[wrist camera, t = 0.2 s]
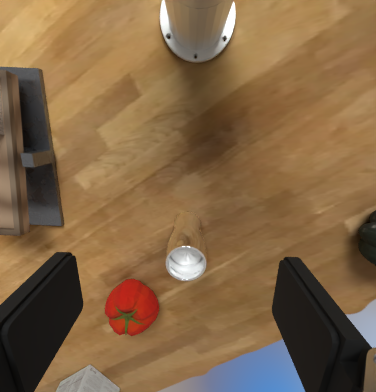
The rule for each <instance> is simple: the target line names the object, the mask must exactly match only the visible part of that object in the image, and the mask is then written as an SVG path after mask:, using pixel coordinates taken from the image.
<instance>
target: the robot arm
mask: <svg viewBox="0 0 376 392" xmlns="http://www.w3.org/2000/svg"><path fill="white" fill-rule="evenodd" d="M235 18H236V12H235V4H234V0H162V3H161V7H160V26H161V30H162V34H163V37H164V39H165V41H166V43H167V45H168V47H169V48H170V49H171V50H172V52H173V53H175V54H176V55H177V56H178V57H180V58H181V59H183V60H186V61H189V62H195V63H199V62H205V61H208V60H211V59H212V58H214V57H216V56H217V55H218V54H219V53H221V52H222V51H223V49H224V48H225V47H226V45H227V44H228V42H229V40H230V38H231V36H232V33H233V30H234V26H235ZM168 37H170V39H168ZM223 39H225V42H224V41H223ZM195 56H197V58H196V59H195V58H194V57H195ZM82 308H83V298H82V292H81V286H80V280H79V274H78V268H77V262H76V258H75V256H72V254H71V253H70V252H56V253H55V254H54V255H53V256H52V257H51V258H50V259H49V260H47V261H46V262H45V263H44V264H43V265H42V266H41V267H40V268H39V269H38V270H37V271H36V272H35V273H34V274H33V275H32V276H30V277H29V278H28V279H27V280H26V281H25V282H24V283H23V284H22V285H21V286H20V287H19V288H18V289H17V290H16V291H15V292H14V293H12V294H11V295H10V296H9V297H8V298H7V299H6V300H5V301H4V302H3V303H2V304H1V305H0V392H34V391H35V389H36V387H37V386H38V384H39V382H40V380H41V379H42V377H43V375H44V374H45V372H46V370H47V369H48V367H49V365H50V364H51V362H52V360H53V358H54V357H55V355H56V353H57V352H58V350H59V348H60V347H61V345H62V343H63V342H64V340H65V338H66V336H67V335H68V333H69V331H70V330H71V328H72V326H73V325H74V323H75V321H76V319H77V318H78V316H79V314H80V313H81V311H82ZM272 313H273V316H274V319H275V321H276V323H277V326H278V328H279V330H280V333H281V335H282V338H283V340H284V342H285V345H286V347H287V349H288V352H289V354H290V356H291V359H292V361H293V363H294V366H295V368H296V370H297V373H298V375H299V377H300V379H301V382H302V384H303V387H304V389H305V392H376V348H372V347H371V346H370V345H369V344H368V342H367V341H366V340H365V339H364V338H363V336H362V335H361V334H360V332H359V331H358V330H357V329H356V327H355V326H354V325H353V324H352V322H351V321H350V320H349V319H348V318H347V316H346V315H345V314H344V313H343V311H342V310H341V309H340V308H339V306H338V305H337V304H336V303H335V301H334V300H333V299H332V298H331V296H330V295H329V294H328V293H327V291H326V290H325V289H324V288H323V286H322V285H321V284H320V283H319V282H318V280H317V279H316V278H315V277H314V275H313V274H312V273H311V272H310V270H309V269H308V268H307V267H306V265H305V264H304V263H303V262H302V260H301V259H300V258H298V257H285V258H284V260H281V261H280V263H279V269H278V275H277V281H276V287H275V293H274V299H273V305H272Z"/></svg>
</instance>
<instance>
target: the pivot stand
mask: <svg viewBox="0 0 376 392" xmlns="http://www.w3.org/2000/svg"><path fill="white" fill-rule="evenodd" d="M0 70H7V71H9V72H11V73H13V74H15V75H17V76H18V86H19V98H20V111H21V123H22V136H23V149H24V153H20V154H21V159H22V165H23V167H25V174H26V187H27V199H28V212H29V224H31V225H52V226H62V225H63V224H64V220H63V213H62V206H61V199H60V192H59V185H58V178H57V172H56V165H55V158H54V151H53V144H52V137H51V130H50V123H49V116H48V109H47V102H46V95H45V88H44V81H43V74H42V70H41V69H38V68H17V67H0Z"/></svg>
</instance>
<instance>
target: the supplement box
mask: <svg viewBox="0 0 376 392" xmlns="http://www.w3.org/2000/svg"><path fill="white" fill-rule="evenodd" d="M56 392H120V388H119V387H118V386H116V385H115V384H114V383H113V382H111V381H110V380H109V379H108V378H107V377H105V376H104V375H103V374H102V373H100V372H99V371H98V370H97V369H95V368H94V367H93V366H92V365H88V366H87V367H85V368H83V369H82V370H80V371H78V372H76V373H75V374H73V375H71V376H70V377H68V378H66V379H65V380H63V381H61V382H60V384H59V386H58V388H57V390H56Z"/></svg>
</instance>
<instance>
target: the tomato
mask: <svg viewBox="0 0 376 392" xmlns="http://www.w3.org/2000/svg"><path fill="white" fill-rule="evenodd" d="M158 311H159V304H158V300H157V298H156V296H155V294H154V293H153V291H152V290H151V289H150V288H149V287H147V286H145V285H143V284H142V283H141V282H140V281H138V280H135V279H127V280H125V281H124V282H122V283H121V284H120V285H118V286H117V287H116V288H115V289H113V291H112V292H111V294H110V295H109V297H108V299H107V301H106V305H105V314H106V315H107V316H108V317H109V324H110V326H111V327H112V328H113V330H114V332H116V333H117V334H119V335H122V334H126V333H127V334H129V335H131V336H133V335H136V334H139V333H141V332H143V331H144V330H146V329H147V328H148V327H149V326H150V325H151V324H152V323H153V322H154V320H155V319H156V317H157V315H158Z"/></svg>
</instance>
